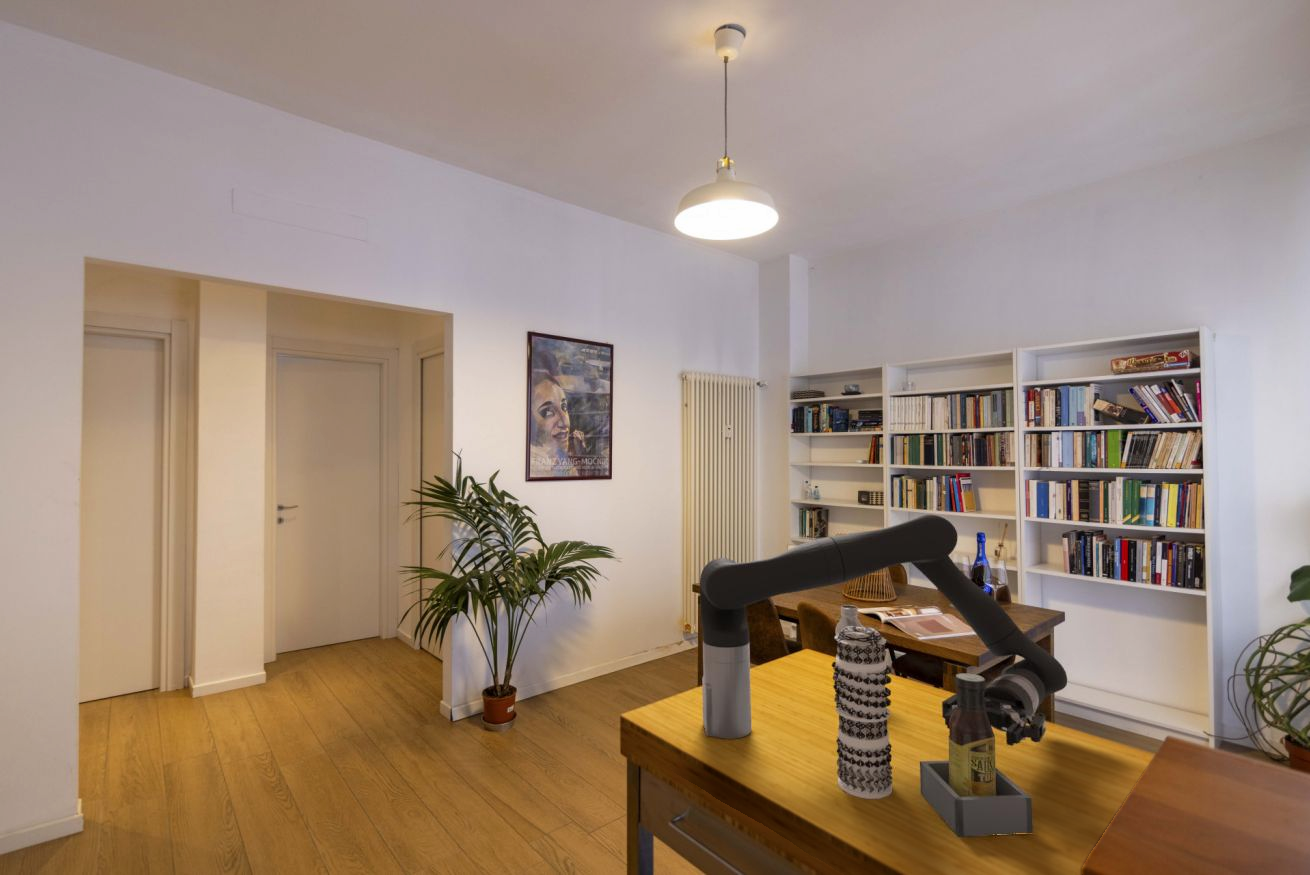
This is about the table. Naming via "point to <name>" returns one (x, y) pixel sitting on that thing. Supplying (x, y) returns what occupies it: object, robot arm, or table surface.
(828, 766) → the table surface
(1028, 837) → the table surface
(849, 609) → the plastic bottle
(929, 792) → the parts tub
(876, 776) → the decorative candle
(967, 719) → the sauce bottle
